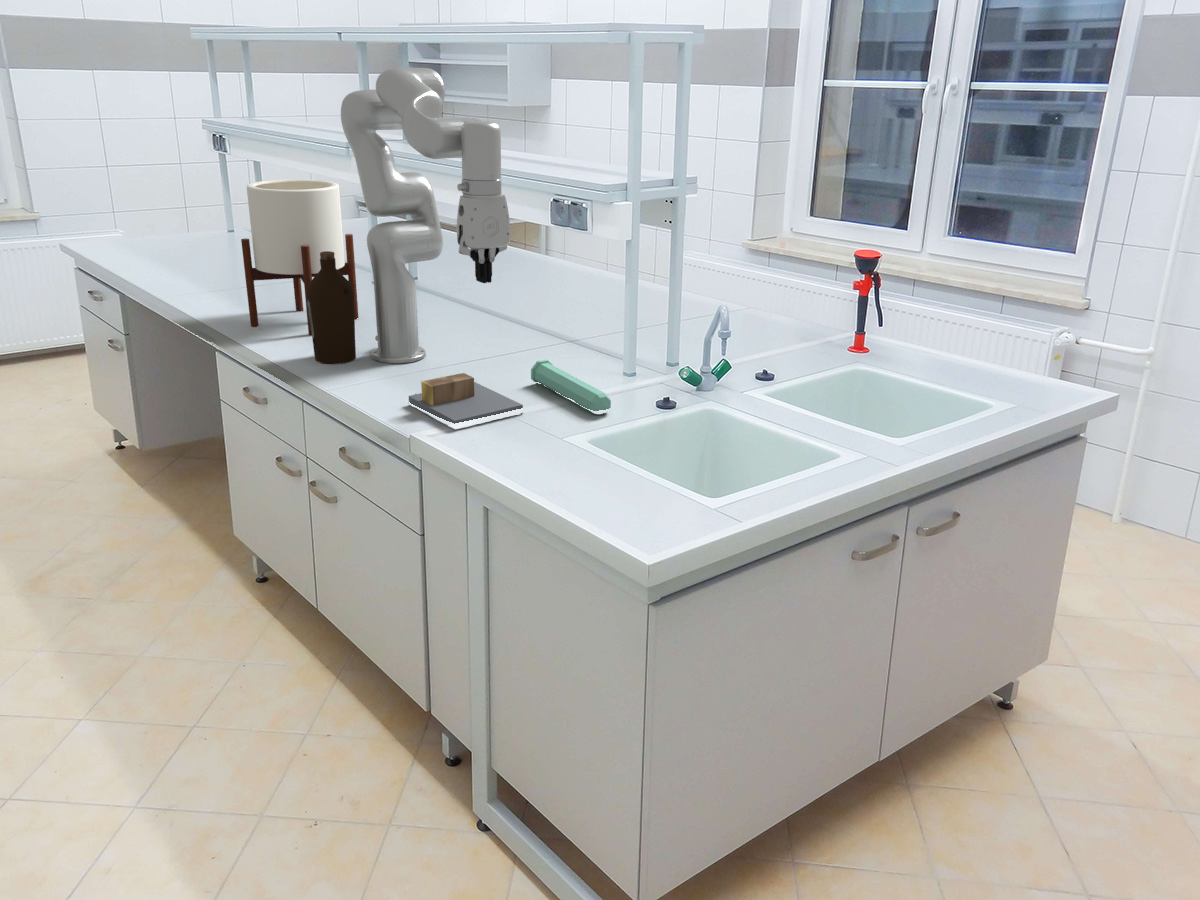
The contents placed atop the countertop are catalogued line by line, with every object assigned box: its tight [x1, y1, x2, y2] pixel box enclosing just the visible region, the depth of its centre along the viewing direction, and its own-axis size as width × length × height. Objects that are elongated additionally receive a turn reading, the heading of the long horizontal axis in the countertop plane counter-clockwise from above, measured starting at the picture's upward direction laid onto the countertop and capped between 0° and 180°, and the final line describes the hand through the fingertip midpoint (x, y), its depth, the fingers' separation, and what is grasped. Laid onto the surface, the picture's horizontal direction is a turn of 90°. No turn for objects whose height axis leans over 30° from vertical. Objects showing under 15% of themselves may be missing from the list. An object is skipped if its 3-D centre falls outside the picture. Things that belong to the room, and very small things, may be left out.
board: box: [408, 381, 524, 424], centre depth 200 cm, size 18×16×2 cm
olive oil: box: [307, 251, 357, 365], centre depth 226 cm, size 11×11×25 cm
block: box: [420, 372, 475, 405], centre depth 199 cm, size 4×4×10 cm
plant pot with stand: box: [240, 178, 359, 337], centre depth 253 cm, size 22×22×36 cm
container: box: [530, 359, 612, 411], centre depth 207 cm, size 6×6×25 cm
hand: (483, 281), depth 197 cm, fingers closed
